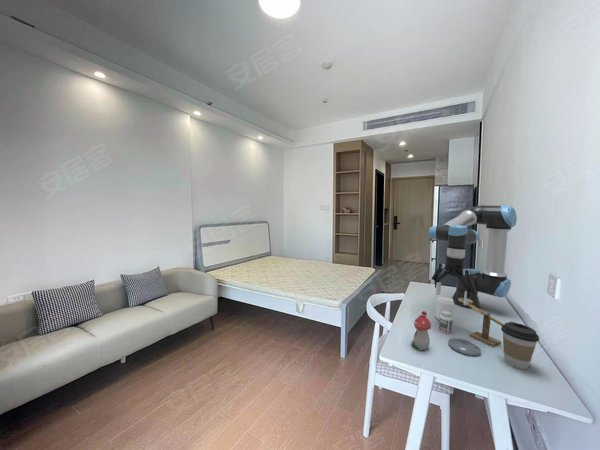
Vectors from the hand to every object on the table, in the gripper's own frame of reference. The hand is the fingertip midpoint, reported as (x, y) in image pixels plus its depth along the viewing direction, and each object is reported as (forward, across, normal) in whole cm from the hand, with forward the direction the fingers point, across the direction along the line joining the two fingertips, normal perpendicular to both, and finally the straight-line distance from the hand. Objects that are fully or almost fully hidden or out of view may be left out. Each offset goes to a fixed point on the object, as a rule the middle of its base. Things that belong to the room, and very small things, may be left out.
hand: (451, 299), depth 119 cm
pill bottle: (+17, -1, 0) cm, 17 cm away
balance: (+17, +12, +9) cm, 23 cm away
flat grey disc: (+17, +12, -8) cm, 22 cm away
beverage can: (+17, -9, +12) cm, 23 cm away
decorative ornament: (+17, +2, -24) cm, 30 cm away
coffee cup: (+17, +27, +1) cm, 32 cm away
